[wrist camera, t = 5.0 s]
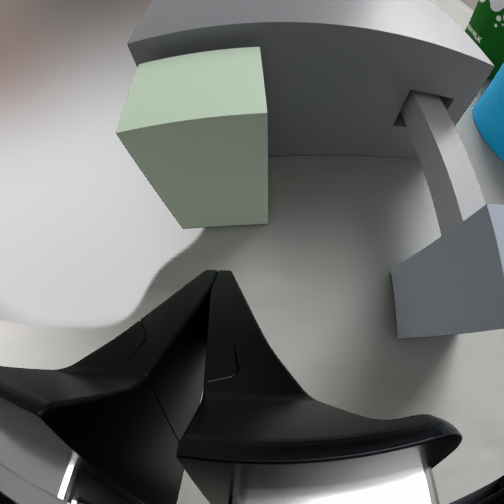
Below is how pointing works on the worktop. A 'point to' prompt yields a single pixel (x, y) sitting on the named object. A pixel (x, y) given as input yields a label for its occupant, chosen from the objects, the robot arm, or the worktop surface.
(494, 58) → the milk carton
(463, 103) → the grey curved block
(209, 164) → the green key
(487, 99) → the mug
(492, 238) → the grey key
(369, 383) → the worktop surface
